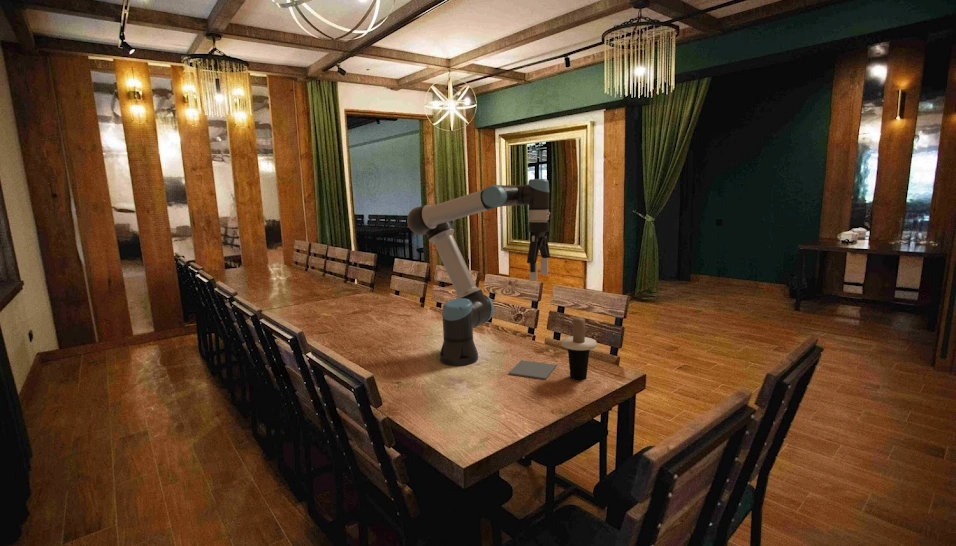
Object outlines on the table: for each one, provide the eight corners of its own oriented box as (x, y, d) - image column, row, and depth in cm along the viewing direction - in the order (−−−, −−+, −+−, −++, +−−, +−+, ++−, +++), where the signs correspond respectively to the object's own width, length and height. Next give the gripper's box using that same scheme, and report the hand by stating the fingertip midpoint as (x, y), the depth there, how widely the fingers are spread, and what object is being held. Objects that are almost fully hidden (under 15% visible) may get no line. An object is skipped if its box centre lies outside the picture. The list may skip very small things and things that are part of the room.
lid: (557, 348, 164) (557, 321, 163) (566, 338, 175) (566, 313, 173) (592, 352, 159) (593, 325, 158) (599, 341, 170) (599, 316, 168)
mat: (508, 374, 173) (508, 372, 173) (521, 361, 186) (521, 360, 186) (546, 379, 168) (546, 378, 168) (556, 366, 180) (556, 364, 180)
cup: (589, 382, 164) (590, 348, 163) (567, 381, 166) (567, 347, 164) (589, 374, 172) (589, 341, 170) (567, 372, 173) (567, 341, 171)
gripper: (538, 223, 165) (538, 284, 169) (557, 219, 188) (557, 272, 191) (517, 223, 169) (518, 282, 172) (539, 219, 191) (539, 271, 194)
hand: (539, 277), depth 182 cm, fingers open, 13 cm apart
